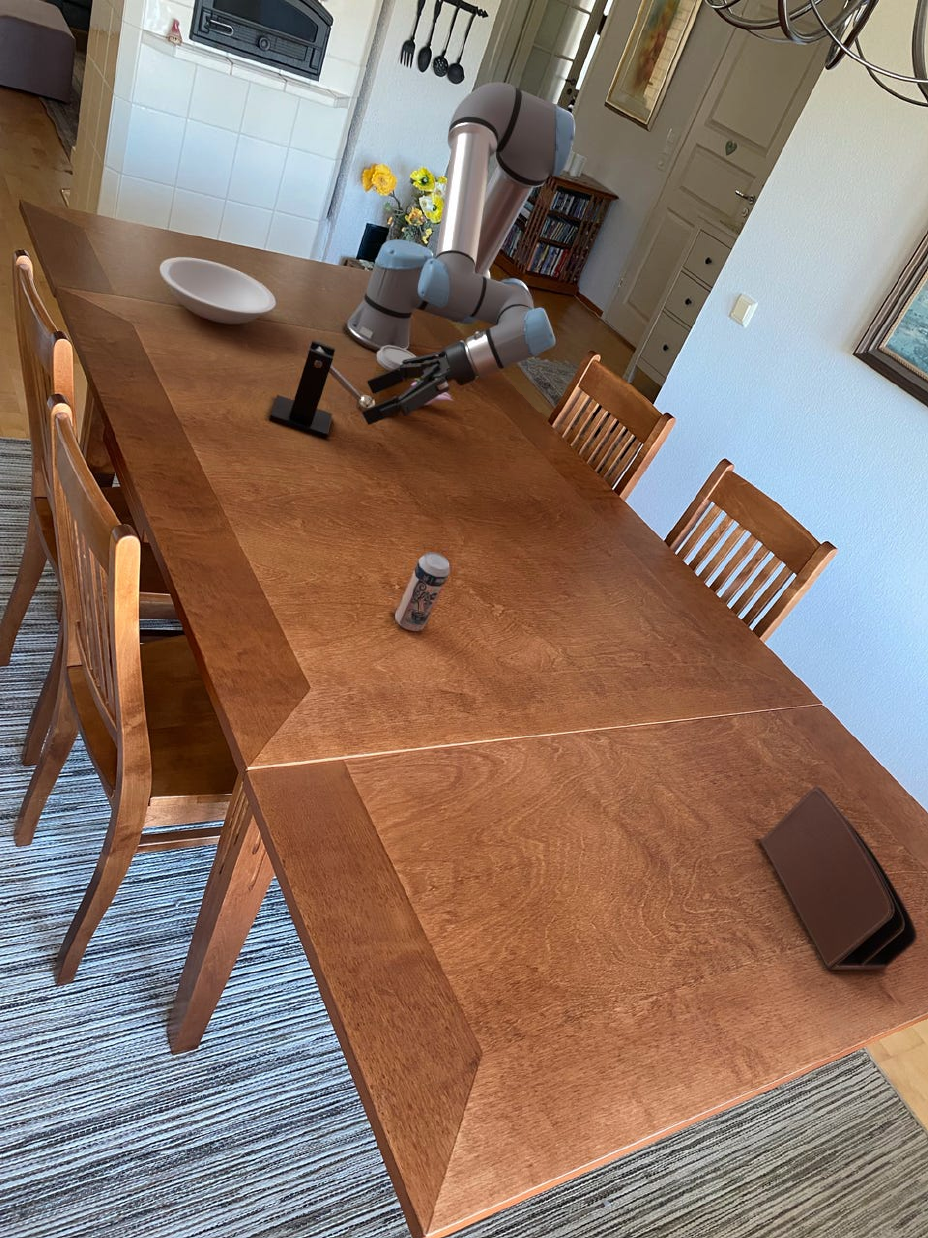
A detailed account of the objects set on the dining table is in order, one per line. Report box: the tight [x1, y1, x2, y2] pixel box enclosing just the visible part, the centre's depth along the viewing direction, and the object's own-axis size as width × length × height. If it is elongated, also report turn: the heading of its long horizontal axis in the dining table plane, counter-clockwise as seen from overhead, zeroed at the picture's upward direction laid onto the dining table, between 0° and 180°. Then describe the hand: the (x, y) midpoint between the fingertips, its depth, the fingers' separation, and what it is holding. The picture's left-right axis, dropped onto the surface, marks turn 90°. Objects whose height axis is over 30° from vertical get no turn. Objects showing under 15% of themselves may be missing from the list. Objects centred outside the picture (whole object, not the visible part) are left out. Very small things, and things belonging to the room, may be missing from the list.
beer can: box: [394, 552, 451, 632], centre depth 137 cm, size 5×5×12 cm
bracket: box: [268, 339, 336, 440], centre depth 172 cm, size 11×9×15 cm
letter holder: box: [760, 786, 918, 971], centre depth 123 cm, size 10×20×14 cm, turn 14°
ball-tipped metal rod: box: [316, 346, 375, 414], centre depth 172 cm, size 15×4×4 cm, turn 92°
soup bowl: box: [159, 256, 277, 325], centre depth 195 cm, size 24×24×7 cm
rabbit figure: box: [410, 378, 454, 406], centre depth 200 cm, size 6×6×15 cm
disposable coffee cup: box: [369, 345, 417, 417], centre depth 190 cm, size 10×10×12 cm
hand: (367, 402), depth 174 cm, fingers open, 13 cm apart
